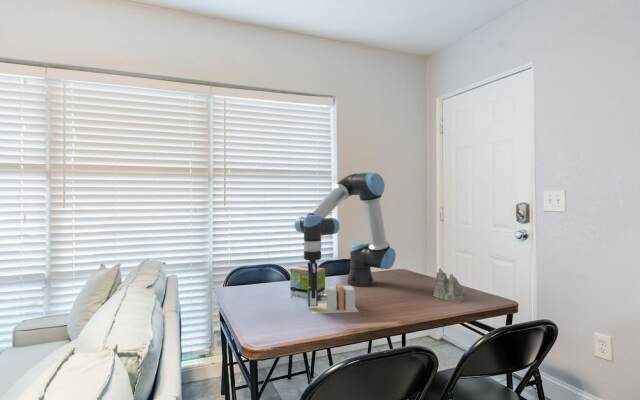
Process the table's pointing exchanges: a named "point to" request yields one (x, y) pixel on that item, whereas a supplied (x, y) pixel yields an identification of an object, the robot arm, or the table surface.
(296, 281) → the tea box
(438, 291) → the grey rock formation
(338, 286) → the block
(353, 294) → the shaft housing
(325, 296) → the shaft
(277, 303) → the table surface
